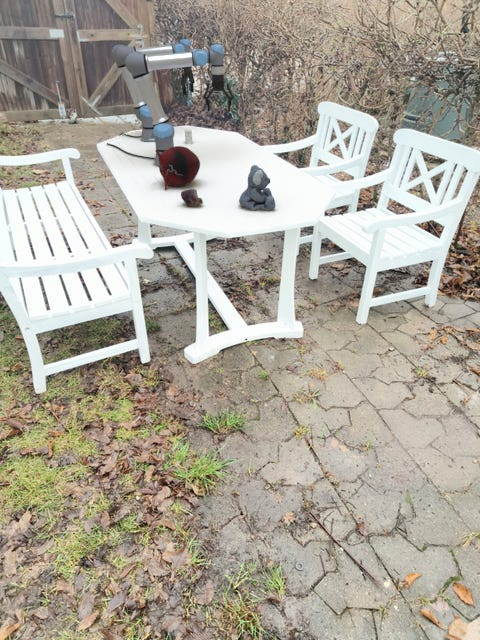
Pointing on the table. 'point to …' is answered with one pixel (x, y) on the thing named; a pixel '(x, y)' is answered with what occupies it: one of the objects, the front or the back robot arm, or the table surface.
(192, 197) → the rock
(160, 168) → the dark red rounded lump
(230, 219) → the table surface
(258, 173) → the koala plush
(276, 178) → the table surface
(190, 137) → the canister
